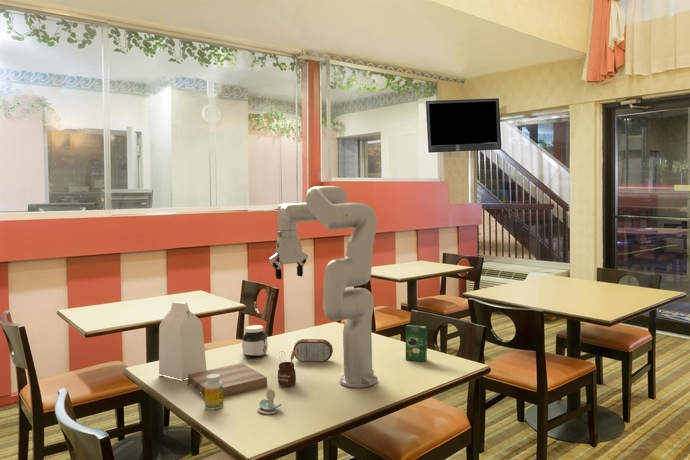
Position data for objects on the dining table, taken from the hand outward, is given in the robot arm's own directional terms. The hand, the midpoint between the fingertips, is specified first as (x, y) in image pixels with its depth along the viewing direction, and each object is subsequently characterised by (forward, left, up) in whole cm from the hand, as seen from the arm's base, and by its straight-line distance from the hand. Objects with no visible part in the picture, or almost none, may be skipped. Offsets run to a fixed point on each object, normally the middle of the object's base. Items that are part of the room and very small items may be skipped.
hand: (289, 277), depth 214 cm
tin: (-15, -1, -31) cm, 34 cm away
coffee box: (-39, -32, -31) cm, 59 cm away
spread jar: (+8, +13, -31) cm, 35 cm away
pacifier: (-47, +34, -31) cm, 66 cm away
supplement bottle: (-34, +46, -31) cm, 65 cm away
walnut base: (-18, +35, -31) cm, 50 cm away
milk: (+3, +43, -31) cm, 53 cm away
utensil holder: (-31, +19, -31) cm, 48 cm away
